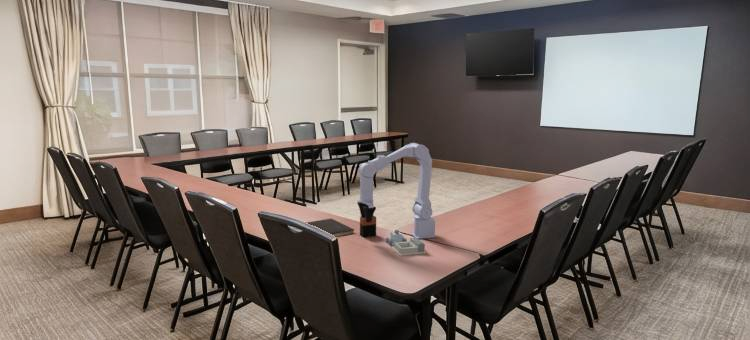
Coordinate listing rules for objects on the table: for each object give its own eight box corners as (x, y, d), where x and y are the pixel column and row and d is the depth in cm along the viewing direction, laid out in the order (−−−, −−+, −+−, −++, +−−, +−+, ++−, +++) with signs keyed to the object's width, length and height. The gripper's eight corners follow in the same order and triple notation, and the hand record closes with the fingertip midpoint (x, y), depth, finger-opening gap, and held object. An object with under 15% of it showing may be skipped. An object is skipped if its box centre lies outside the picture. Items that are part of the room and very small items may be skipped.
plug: (398, 241, 204) (399, 229, 203) (402, 244, 201) (402, 232, 200) (390, 242, 203) (390, 230, 202) (393, 244, 199) (393, 232, 198)
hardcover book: (331, 222, 234) (331, 218, 234) (354, 234, 215) (354, 229, 215) (303, 227, 225) (303, 222, 225) (325, 239, 207) (325, 234, 206)
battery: (376, 235, 212) (376, 215, 210) (363, 237, 209) (363, 216, 207) (372, 233, 216) (372, 212, 214) (359, 234, 213) (359, 214, 211)
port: (417, 245, 198) (417, 236, 198) (426, 253, 189) (426, 243, 188) (391, 248, 195) (391, 238, 194) (399, 255, 185) (400, 245, 185)
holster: (402, 240, 205) (402, 236, 205) (406, 243, 201) (406, 239, 200) (386, 241, 203) (386, 237, 203) (389, 245, 198) (389, 241, 198)
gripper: (353, 187, 205) (353, 216, 207) (362, 194, 191) (362, 224, 194) (368, 186, 207) (368, 215, 209) (378, 193, 194) (377, 223, 196)
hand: (366, 219), depth 202 cm, fingers open, 7 cm apart
